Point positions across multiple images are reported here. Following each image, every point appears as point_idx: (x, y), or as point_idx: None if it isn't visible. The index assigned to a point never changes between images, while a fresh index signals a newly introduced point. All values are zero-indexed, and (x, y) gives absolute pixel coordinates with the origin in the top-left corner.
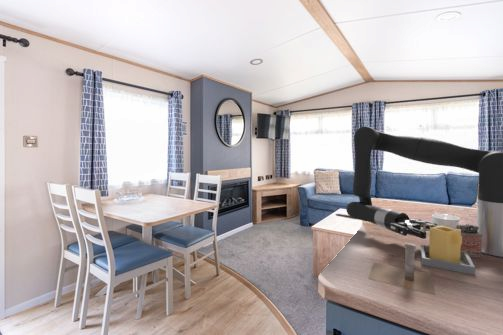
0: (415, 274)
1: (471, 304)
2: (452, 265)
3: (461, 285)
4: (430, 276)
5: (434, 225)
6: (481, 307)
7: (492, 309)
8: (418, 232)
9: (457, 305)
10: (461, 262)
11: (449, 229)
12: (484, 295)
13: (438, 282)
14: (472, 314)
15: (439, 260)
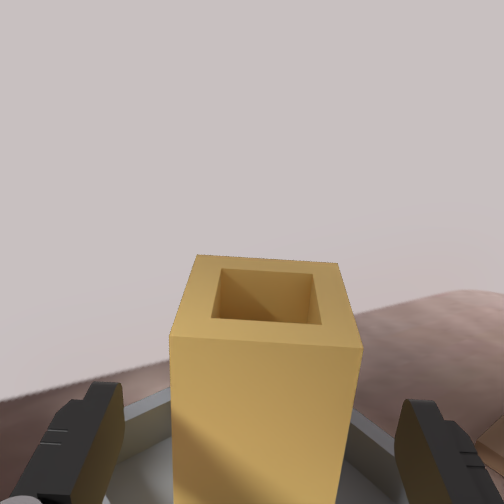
0: None
1: (448, 330)
2: None
3: (379, 380)
4: (498, 427)
5: (49, 486)
6: (430, 318)
7: (407, 309)
8: (473, 445)
9: (498, 338)
10: (158, 460)
11: (215, 296)
12: (359, 334)
13: (464, 420)
14: (484, 315)
15: (374, 432)
